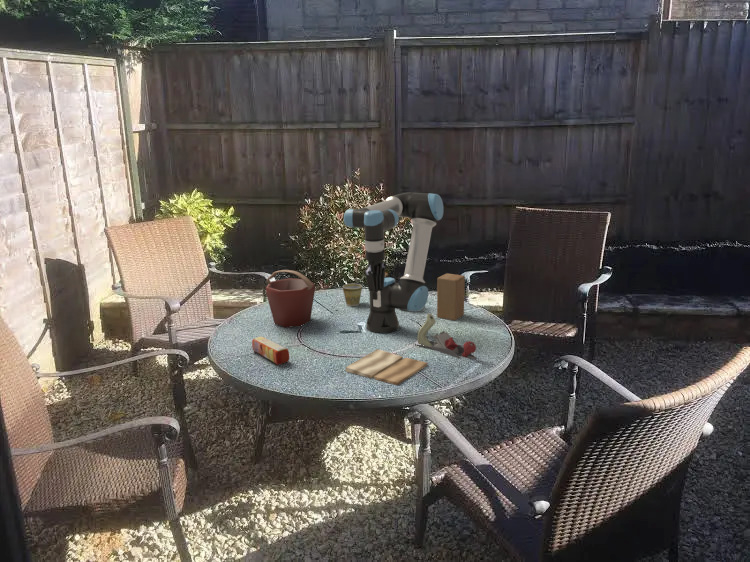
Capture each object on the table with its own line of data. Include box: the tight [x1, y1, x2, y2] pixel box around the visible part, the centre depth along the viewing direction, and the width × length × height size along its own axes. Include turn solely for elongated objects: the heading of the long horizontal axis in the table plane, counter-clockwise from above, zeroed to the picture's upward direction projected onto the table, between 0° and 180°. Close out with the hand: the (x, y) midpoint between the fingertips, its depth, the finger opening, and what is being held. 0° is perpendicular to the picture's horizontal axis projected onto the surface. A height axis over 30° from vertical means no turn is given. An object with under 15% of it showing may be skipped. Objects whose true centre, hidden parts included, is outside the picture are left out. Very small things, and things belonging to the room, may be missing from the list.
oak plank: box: [374, 357, 428, 386], centre depth 241 cm, size 10×22×2 cm, turn 146°
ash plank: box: [345, 348, 404, 379], centre depth 247 cm, size 13×22×2 cm, turn 146°
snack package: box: [251, 335, 290, 366], centre depth 259 cm, size 21×7×7 cm, turn 38°
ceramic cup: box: [342, 283, 363, 307], centre depth 327 cm, size 13×10×10 cm
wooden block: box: [436, 272, 466, 321], centre depth 304 cm, size 10×10×20 cm
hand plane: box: [415, 313, 478, 360], centre depth 261 cm, size 7×31×15 cm, turn 44°
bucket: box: [265, 269, 316, 328], centre depth 300 cm, size 24×22×25 cm
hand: (377, 306), depth 256 cm, fingers closed
